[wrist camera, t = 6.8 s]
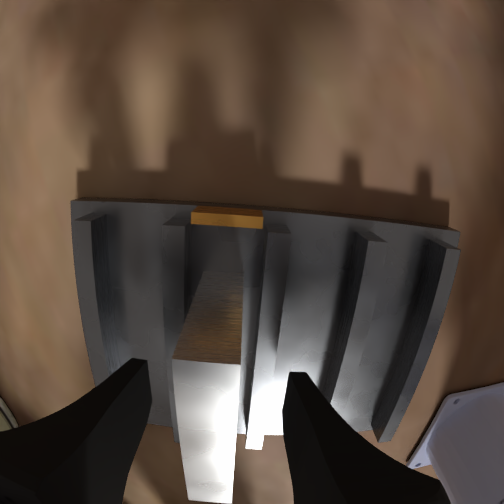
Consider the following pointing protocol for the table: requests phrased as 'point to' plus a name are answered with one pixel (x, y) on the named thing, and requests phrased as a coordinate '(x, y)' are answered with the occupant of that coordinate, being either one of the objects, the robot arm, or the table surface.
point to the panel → (210, 386)
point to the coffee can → (6, 417)
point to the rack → (267, 301)
